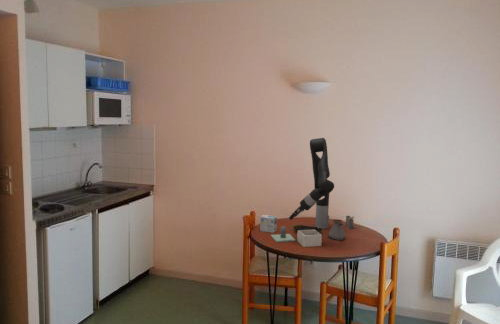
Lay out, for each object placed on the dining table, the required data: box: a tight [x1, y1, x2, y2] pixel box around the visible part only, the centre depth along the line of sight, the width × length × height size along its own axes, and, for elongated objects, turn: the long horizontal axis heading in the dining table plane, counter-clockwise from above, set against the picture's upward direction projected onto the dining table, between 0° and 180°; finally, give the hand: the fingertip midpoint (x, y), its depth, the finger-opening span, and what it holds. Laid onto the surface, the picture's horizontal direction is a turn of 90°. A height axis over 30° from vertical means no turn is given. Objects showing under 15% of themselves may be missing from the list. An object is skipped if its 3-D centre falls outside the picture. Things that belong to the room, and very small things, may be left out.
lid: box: [270, 225, 296, 243], centre depth 265 cm, size 13×13×9 cm
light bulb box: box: [259, 214, 278, 234], centre depth 285 cm, size 11×7×11 cm, turn 71°
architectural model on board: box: [345, 215, 355, 230], centre depth 299 cm, size 11×3×10 cm, turn 1°
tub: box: [296, 229, 323, 248], centre depth 257 cm, size 12×12×8 cm
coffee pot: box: [328, 219, 346, 242], centre depth 264 cm, size 21×12×15 cm, turn 178°
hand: (292, 217), depth 263 cm, fingers open, 8 cm apart
